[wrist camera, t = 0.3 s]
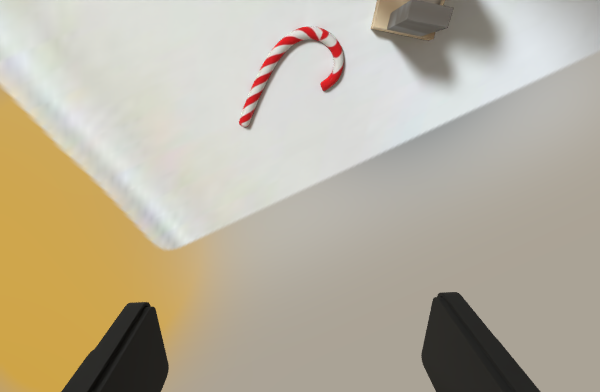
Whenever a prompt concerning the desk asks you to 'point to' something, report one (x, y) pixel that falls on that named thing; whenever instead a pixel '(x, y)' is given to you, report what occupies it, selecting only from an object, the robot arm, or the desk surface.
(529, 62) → the desk surface
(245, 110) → the candy cane
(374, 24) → the rail fixture
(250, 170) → the desk surface
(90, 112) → the desk surface
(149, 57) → the desk surface
